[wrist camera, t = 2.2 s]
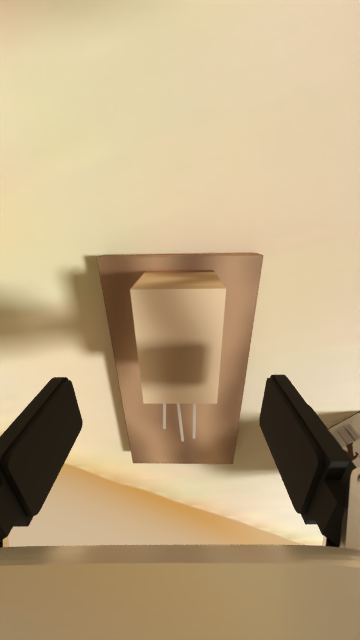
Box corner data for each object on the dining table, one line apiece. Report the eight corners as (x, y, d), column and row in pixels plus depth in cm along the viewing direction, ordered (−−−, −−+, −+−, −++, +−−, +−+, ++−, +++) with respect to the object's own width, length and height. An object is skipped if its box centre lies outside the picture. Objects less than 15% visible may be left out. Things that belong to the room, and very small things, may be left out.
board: (256, 252, 16) (263, 255, 15) (230, 451, 26) (232, 463, 25) (104, 254, 16) (96, 257, 15) (135, 450, 26) (133, 463, 25)
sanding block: (213, 270, 15) (226, 288, 11) (208, 360, 18) (217, 403, 14) (146, 270, 15) (130, 289, 11) (153, 360, 19) (143, 403, 14)
